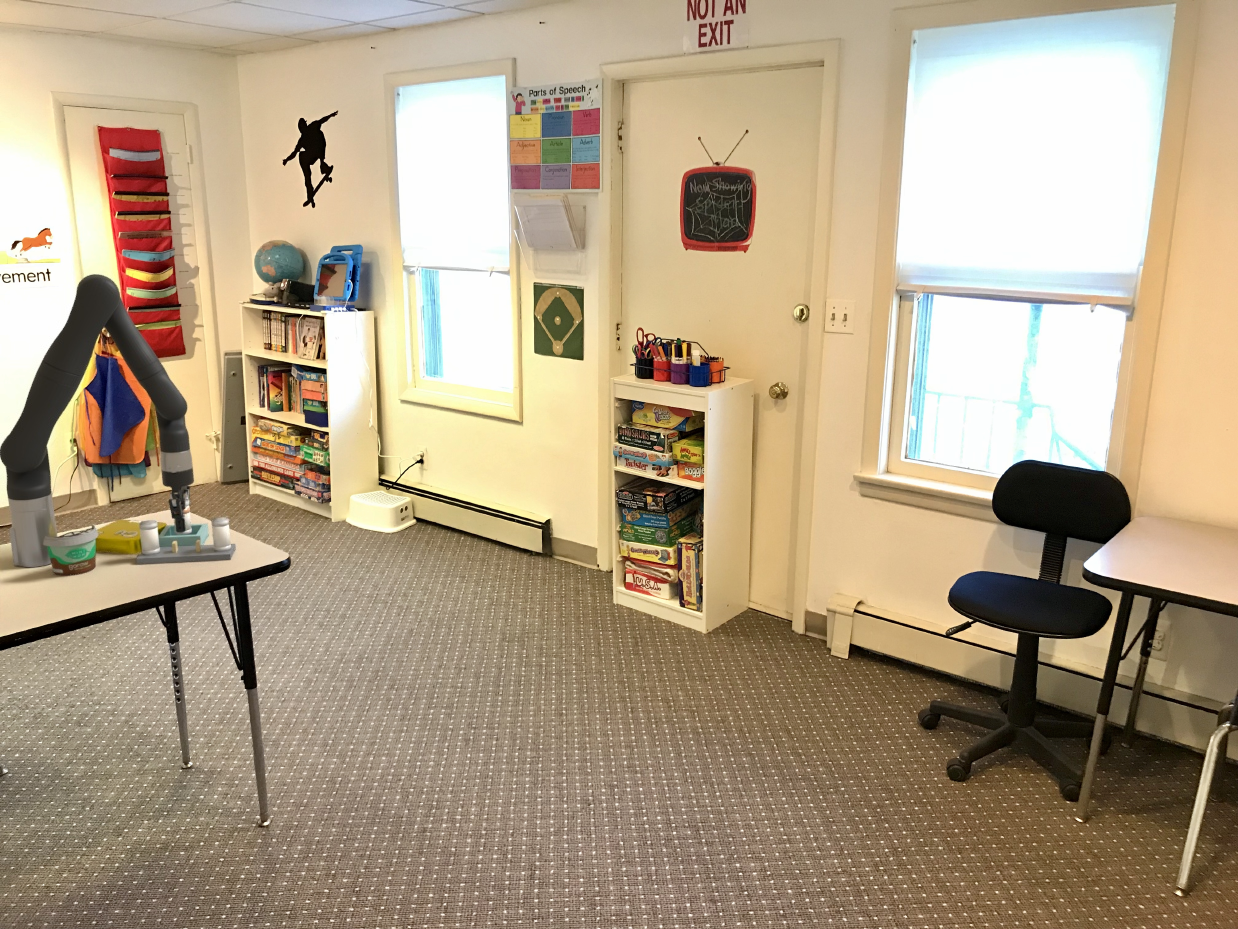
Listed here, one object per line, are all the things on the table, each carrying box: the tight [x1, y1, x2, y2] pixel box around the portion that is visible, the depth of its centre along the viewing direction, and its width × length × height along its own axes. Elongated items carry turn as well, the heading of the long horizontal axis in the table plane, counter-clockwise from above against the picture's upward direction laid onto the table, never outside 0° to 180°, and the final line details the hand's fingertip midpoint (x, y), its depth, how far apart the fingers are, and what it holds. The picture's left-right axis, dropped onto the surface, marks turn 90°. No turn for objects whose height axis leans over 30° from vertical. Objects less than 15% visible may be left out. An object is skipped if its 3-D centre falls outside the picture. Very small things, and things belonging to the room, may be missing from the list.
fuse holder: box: [136, 516, 237, 565], centre depth 239 cm, size 22×8×10 cm, turn 103°
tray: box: [158, 523, 210, 547], centre depth 250 cm, size 10×10×4 cm
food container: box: [43, 524, 98, 577], centre depth 227 cm, size 12×6×10 cm, turn 147°
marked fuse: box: [173, 500, 192, 535], centre depth 248 cm, size 4×4×9 cm
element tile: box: [95, 519, 167, 555], centre depth 248 cm, size 15×15×5 cm
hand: (182, 528), depth 249 cm, fingers closed on marked fuse, 4 cm apart
